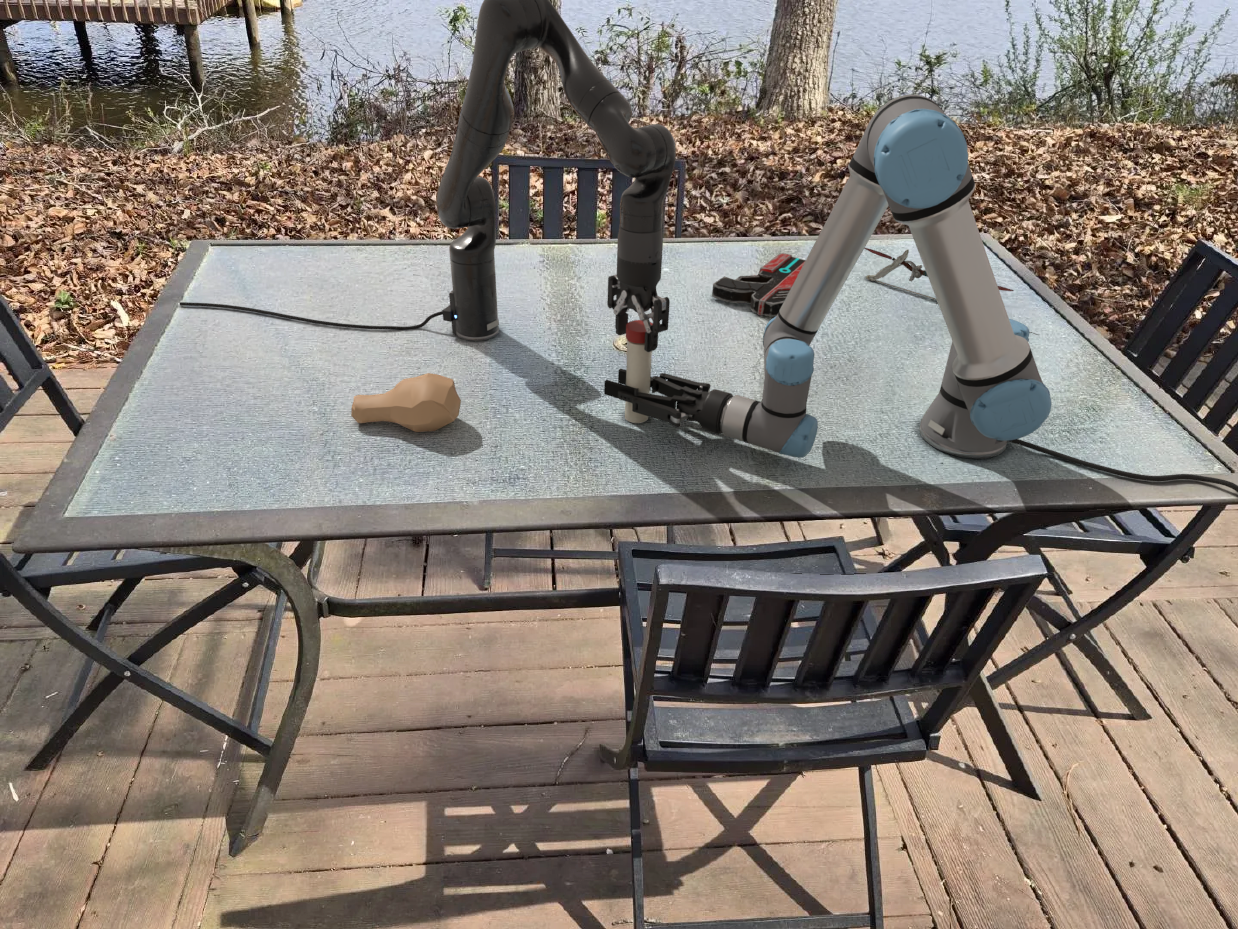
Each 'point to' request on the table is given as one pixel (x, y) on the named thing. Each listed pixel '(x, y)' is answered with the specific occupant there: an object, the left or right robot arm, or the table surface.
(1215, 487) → the table surface
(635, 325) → the lid
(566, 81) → the left robot arm
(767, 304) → the gun
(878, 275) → the bow
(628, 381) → the slim white bottle
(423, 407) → the squash
